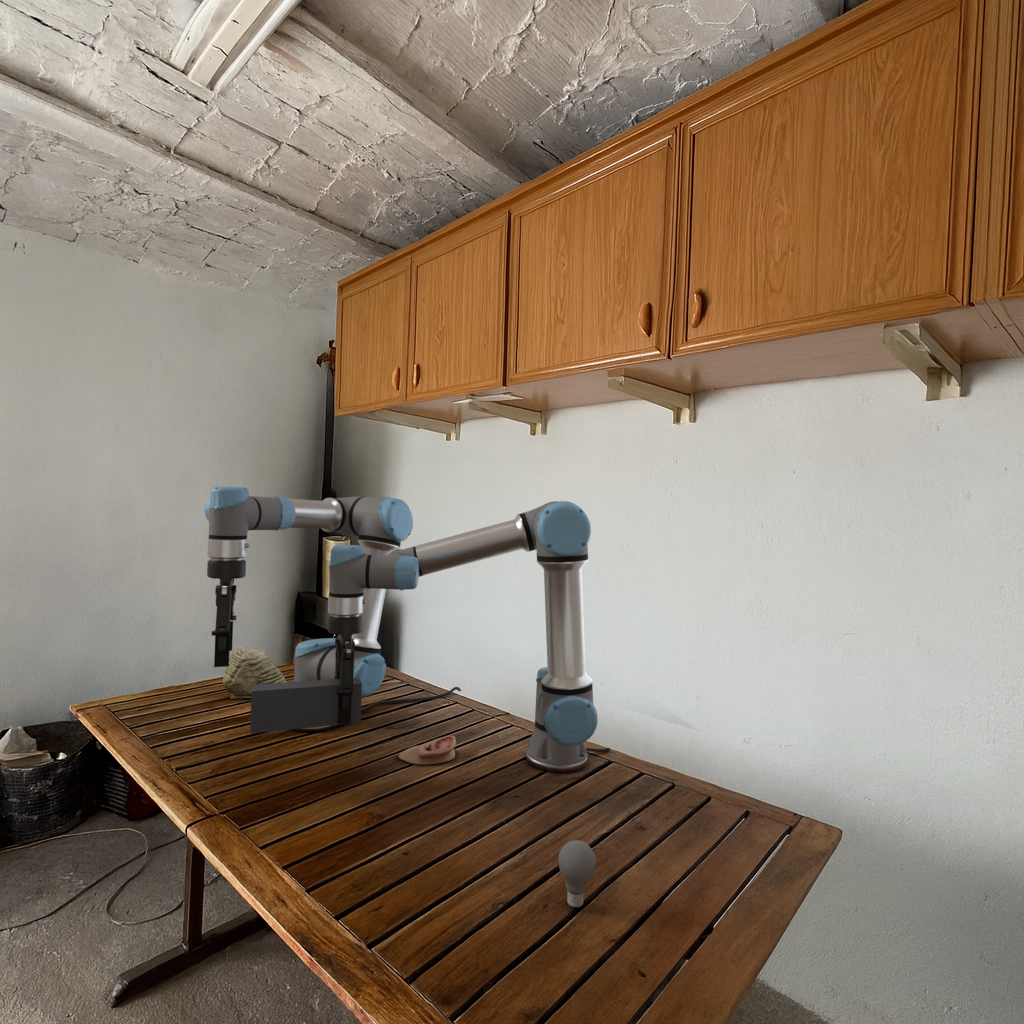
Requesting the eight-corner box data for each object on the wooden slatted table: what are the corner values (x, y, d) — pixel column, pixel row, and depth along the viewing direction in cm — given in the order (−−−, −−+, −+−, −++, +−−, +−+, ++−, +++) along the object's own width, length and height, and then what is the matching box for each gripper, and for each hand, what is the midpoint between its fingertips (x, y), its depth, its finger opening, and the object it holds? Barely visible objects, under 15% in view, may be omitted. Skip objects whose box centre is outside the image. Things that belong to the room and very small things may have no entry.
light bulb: (553, 893, 104) (556, 833, 104) (589, 892, 104) (592, 832, 104) (559, 917, 98) (562, 853, 98) (597, 916, 99) (600, 853, 98)
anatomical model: (394, 745, 152) (411, 728, 164) (393, 761, 153) (410, 744, 164) (446, 752, 150) (460, 734, 161) (446, 768, 150) (459, 750, 161)
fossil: (218, 695, 195) (220, 647, 195) (278, 685, 208) (279, 640, 207) (228, 703, 189) (230, 653, 188) (289, 692, 201) (290, 645, 201)
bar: (250, 733, 132) (251, 691, 132) (250, 725, 136) (251, 684, 136) (360, 722, 140) (361, 683, 140) (357, 715, 145) (358, 677, 145)
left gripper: (244, 565, 124) (240, 672, 125) (247, 553, 148) (244, 644, 148) (202, 565, 122) (198, 675, 122) (212, 553, 145) (208, 645, 145)
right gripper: (369, 621, 134) (365, 730, 134) (357, 607, 150) (354, 704, 151) (332, 623, 131) (329, 734, 132) (324, 608, 148) (321, 707, 148)
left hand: (223, 658), depth 135 cm, fingers open, 13 cm apart
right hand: (342, 718), depth 141 cm, fingers closed on bar, 5 cm apart
